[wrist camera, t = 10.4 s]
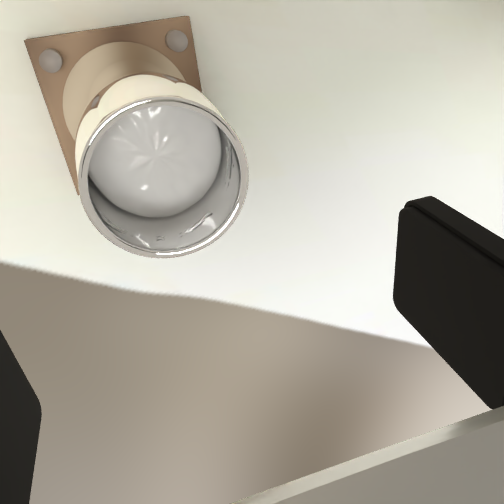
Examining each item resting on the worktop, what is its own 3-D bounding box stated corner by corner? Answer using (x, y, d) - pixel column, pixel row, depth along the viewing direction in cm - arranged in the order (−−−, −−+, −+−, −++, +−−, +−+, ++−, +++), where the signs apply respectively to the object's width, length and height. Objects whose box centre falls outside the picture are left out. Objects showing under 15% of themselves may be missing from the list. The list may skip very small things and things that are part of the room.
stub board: (185, 15, 29) (193, 16, 27) (210, 160, 34) (218, 171, 32) (26, 39, 27) (20, 42, 25) (78, 189, 32) (77, 203, 30)
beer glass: (166, 36, 28) (225, 62, 16) (201, 138, 32) (272, 226, 19) (60, 72, 27) (32, 131, 15) (109, 173, 31) (120, 287, 19)
